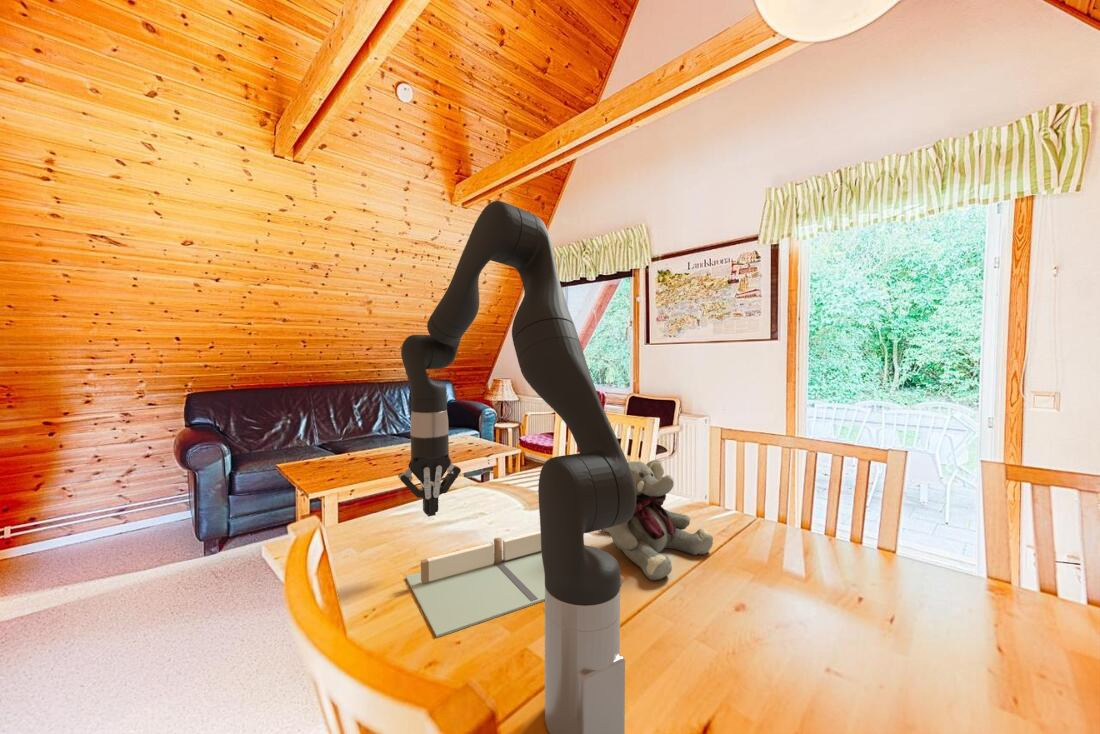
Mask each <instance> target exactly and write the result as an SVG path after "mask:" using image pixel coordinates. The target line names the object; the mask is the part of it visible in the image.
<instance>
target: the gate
mask: <svg viewBox="0 0 1100 734" xmlns="http://www.w3.org/2000/svg"><path fill="white" fill-rule="evenodd" d="M491 564H494V543H492V542H489V543H486V544H481V545H477V546H472V547H468V548H465V549H461V550H456V551H453V552H449V553H445V554H441V555H436V556H433V557H429V558H424V559H421V560H420V572H421V581H422V583H425V582H429V581H433V580H436V579H440V578H444V577H447V576H451V575H454V574H458V573H462V572H465V571H469V570H473V569H476V568H480V567H484V566H487V565H491Z"/></svg>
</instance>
